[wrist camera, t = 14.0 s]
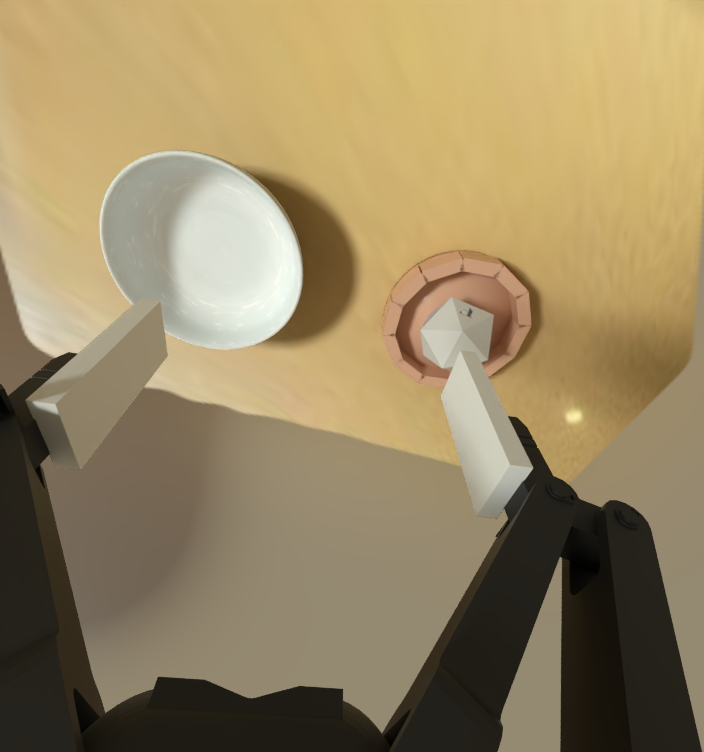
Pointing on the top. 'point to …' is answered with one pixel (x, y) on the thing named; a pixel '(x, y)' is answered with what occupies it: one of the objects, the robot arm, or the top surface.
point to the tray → (468, 284)
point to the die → (456, 333)
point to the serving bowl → (202, 248)
